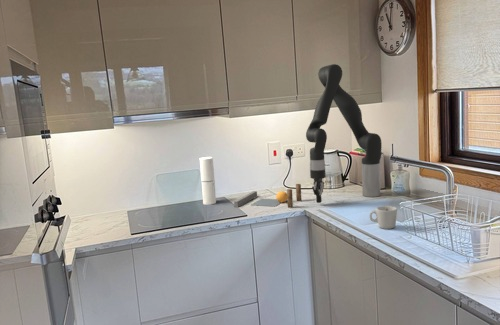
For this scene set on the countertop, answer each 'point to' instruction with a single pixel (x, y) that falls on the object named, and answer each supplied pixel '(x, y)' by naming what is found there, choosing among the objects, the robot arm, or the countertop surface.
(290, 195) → the post
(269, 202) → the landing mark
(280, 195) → the ball
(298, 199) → the post
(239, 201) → the stopper wall
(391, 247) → the countertop surface
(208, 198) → the cylindrical container
